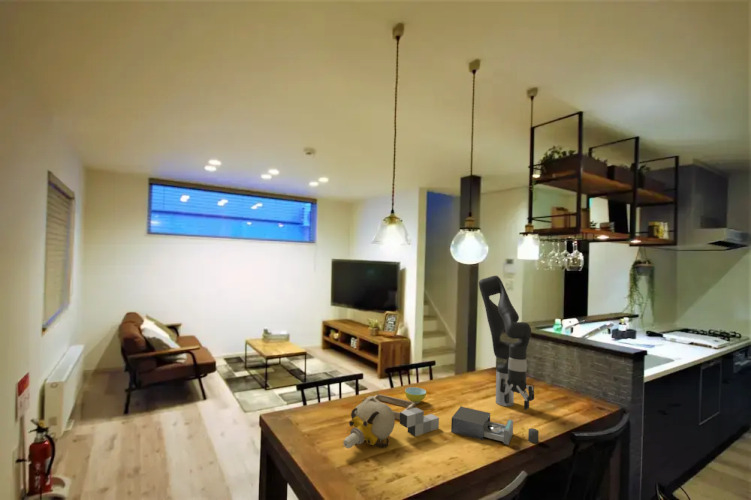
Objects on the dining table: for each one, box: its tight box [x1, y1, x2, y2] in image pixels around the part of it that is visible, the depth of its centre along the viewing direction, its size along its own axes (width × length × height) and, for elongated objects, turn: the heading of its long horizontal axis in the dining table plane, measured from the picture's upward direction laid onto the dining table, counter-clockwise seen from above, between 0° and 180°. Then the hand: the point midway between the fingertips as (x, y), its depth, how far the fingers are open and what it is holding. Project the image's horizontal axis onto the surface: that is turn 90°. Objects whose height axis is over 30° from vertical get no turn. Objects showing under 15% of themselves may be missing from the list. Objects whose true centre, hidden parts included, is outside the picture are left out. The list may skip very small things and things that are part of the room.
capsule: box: [527, 428, 540, 444], centre depth 159 cm, size 4×4×4 cm
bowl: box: [404, 386, 427, 405], centre depth 198 cm, size 11×12×6 cm
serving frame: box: [373, 393, 416, 421], centre depth 188 cm, size 17×22×3 cm
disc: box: [488, 424, 502, 434], centre depth 163 cm, size 6×6×2 cm
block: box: [399, 407, 440, 437], centre depth 164 cm, size 20×5×10 cm, turn 126°
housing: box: [450, 406, 491, 441], centre depth 168 cm, size 15×14×6 cm
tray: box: [483, 418, 514, 446], centre depth 163 cm, size 12×15×6 cm
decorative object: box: [341, 395, 396, 449], centre depth 153 cm, size 15×23×30 cm
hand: (516, 406), depth 159 cm, fingers open, 8 cm apart
